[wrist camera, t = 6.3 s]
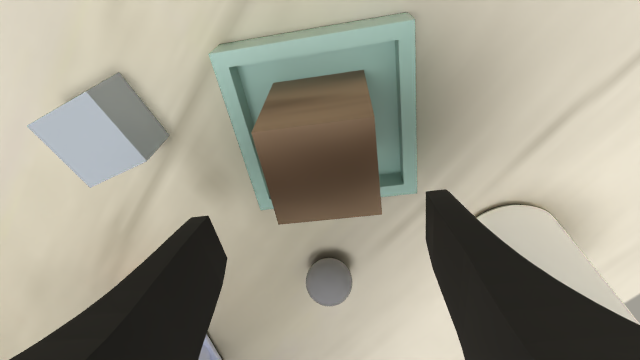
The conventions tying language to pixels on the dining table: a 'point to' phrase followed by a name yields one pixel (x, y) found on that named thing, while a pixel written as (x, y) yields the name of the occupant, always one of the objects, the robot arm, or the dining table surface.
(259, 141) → the walnut block
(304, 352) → the dining table surface
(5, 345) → the dining table surface
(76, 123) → the slate block
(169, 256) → the robot arm
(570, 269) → the can
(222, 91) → the teal tray
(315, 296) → the grey ball
